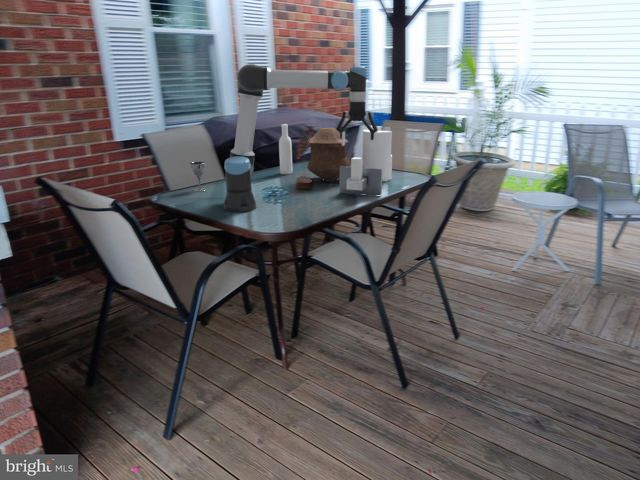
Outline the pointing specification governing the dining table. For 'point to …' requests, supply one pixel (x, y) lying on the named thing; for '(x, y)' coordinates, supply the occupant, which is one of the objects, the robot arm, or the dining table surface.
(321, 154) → the pottery vessel
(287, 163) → the bottle
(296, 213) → the dining table surface
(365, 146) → the cylinder
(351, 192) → the grey block
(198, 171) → the wine glass
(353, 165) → the rail post
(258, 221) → the dining table surface
